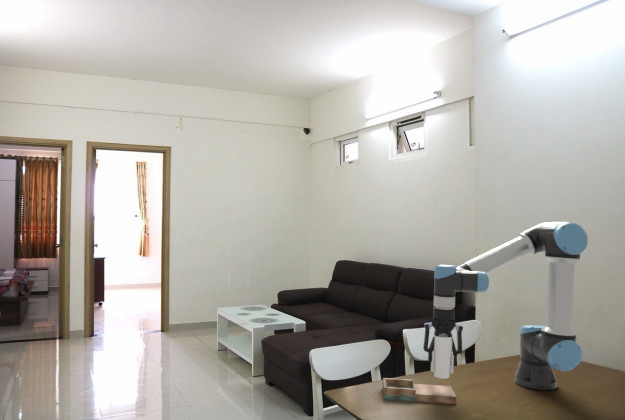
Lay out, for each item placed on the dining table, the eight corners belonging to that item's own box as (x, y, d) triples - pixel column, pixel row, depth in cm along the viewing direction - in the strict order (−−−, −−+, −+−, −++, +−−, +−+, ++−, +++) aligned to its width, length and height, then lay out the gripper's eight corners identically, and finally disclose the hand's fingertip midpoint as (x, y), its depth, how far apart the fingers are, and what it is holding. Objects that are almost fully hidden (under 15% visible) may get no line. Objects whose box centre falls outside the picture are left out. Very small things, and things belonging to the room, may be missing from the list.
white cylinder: (451, 375, 178) (453, 334, 179) (450, 381, 172) (452, 338, 172) (432, 373, 181) (434, 332, 181) (431, 378, 174) (432, 336, 175)
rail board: (450, 392, 181) (450, 382, 181) (456, 403, 170) (456, 392, 170) (382, 388, 184) (382, 377, 184) (383, 399, 173) (384, 387, 173)
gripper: (468, 307, 180) (466, 370, 179) (416, 304, 182) (414, 366, 181) (473, 311, 172) (471, 377, 172) (418, 307, 174) (416, 373, 174)
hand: (441, 371), depth 176 cm, fingers closed on white cylinder, 6 cm apart
